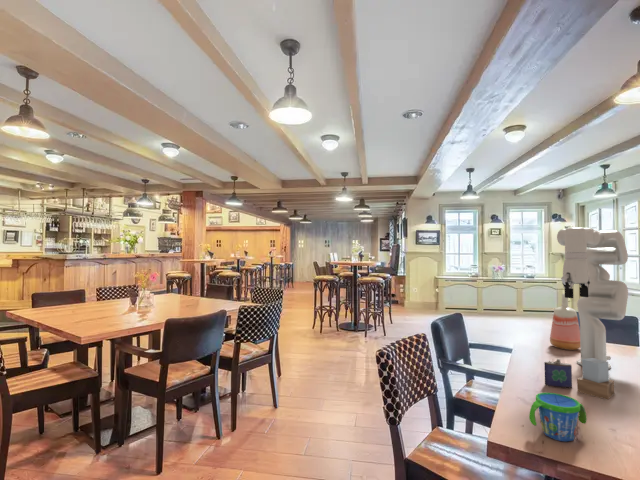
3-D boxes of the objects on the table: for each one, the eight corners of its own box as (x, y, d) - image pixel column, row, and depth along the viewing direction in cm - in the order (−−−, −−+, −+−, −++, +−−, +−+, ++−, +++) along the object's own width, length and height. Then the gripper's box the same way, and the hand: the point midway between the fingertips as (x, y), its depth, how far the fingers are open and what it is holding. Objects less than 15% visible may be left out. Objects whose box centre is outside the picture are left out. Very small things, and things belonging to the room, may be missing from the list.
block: (585, 387, 139) (585, 374, 139) (614, 394, 132) (614, 380, 132) (577, 392, 133) (577, 379, 134) (607, 400, 126) (607, 386, 126)
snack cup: (540, 445, 96) (540, 406, 96) (520, 426, 106) (519, 391, 107) (600, 446, 95) (599, 408, 96) (573, 427, 106) (573, 392, 106)
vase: (588, 351, 188) (587, 295, 190) (561, 351, 189) (560, 295, 190) (569, 344, 203) (568, 292, 204) (544, 344, 203) (543, 292, 204)
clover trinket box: (570, 386, 139) (570, 358, 139) (573, 389, 136) (573, 360, 136) (543, 384, 141) (543, 356, 141) (546, 386, 138) (545, 358, 139)
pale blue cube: (592, 376, 137) (592, 357, 137) (608, 381, 131) (608, 361, 132) (582, 378, 135) (582, 359, 135) (598, 383, 129) (598, 363, 130)
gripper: (579, 256, 158) (580, 295, 157) (553, 256, 151) (554, 297, 150) (598, 256, 151) (599, 297, 150) (571, 256, 144) (572, 299, 143)
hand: (576, 297), depth 150 cm, fingers open, 9 cm apart
